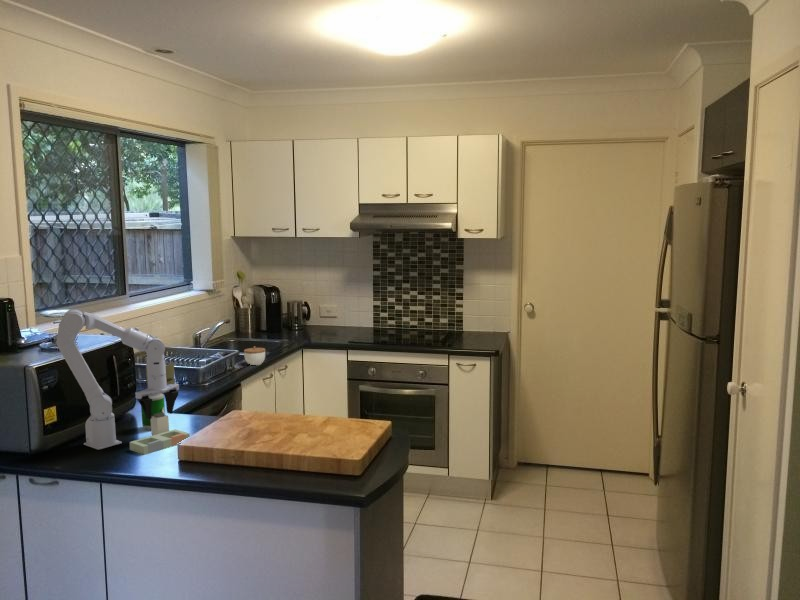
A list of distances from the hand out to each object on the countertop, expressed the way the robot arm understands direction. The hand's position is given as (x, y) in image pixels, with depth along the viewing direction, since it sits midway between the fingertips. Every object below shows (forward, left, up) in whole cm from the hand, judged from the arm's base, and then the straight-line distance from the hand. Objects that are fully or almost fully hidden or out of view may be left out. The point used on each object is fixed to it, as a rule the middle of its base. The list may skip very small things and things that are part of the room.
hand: (159, 415), depth 219 cm
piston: (-59, +37, -7) cm, 70 cm away
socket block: (+8, -5, -7) cm, 12 cm away
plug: (0, 0, -7) cm, 7 cm away
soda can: (-12, +5, -7) cm, 15 cm away
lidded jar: (-72, +98, -7) cm, 121 cm away
